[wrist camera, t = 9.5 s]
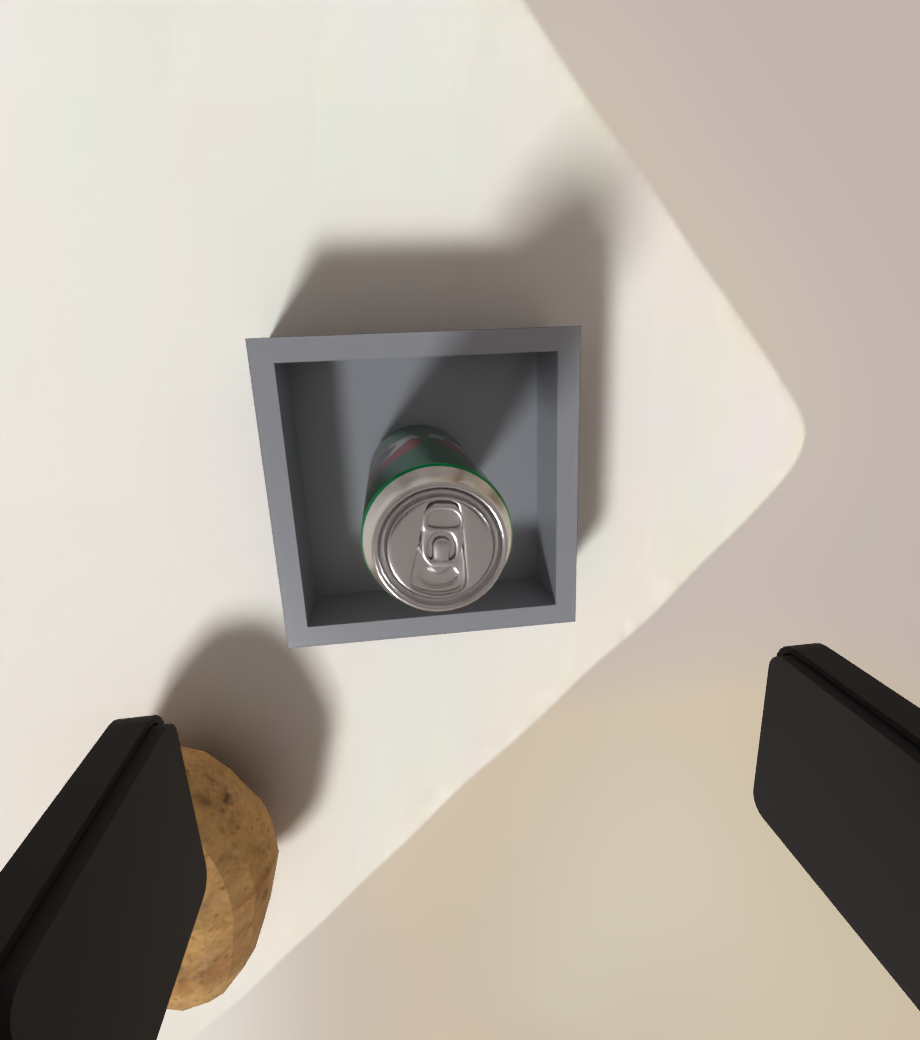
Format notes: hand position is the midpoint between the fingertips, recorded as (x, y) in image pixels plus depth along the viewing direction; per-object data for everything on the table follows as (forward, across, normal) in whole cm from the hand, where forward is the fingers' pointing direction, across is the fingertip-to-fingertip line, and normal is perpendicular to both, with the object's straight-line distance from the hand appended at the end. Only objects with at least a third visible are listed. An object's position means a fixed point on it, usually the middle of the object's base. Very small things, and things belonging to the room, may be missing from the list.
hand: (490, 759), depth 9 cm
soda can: (+22, 0, 0) cm, 22 cm away
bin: (+22, 0, 0) cm, 22 cm away
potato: (+22, +14, +19) cm, 32 cm away
